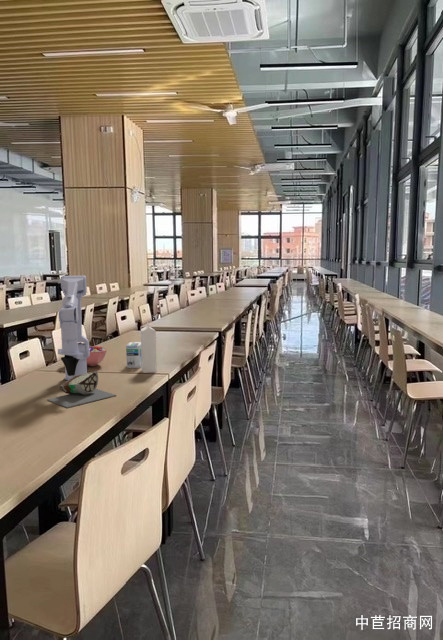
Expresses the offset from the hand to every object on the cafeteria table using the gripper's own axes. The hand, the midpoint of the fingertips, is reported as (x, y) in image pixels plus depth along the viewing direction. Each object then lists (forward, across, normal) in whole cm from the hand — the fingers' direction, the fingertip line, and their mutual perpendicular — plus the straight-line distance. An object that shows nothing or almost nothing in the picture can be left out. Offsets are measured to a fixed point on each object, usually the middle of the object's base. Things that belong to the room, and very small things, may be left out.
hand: (71, 375), depth 184 cm
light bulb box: (+8, -23, +47) cm, 53 cm away
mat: (+8, +7, 0) cm, 10 cm away
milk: (+8, -9, +44) cm, 46 cm away
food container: (+6, -3, +1) cm, 6 cm away
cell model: (+8, -40, +31) cm, 51 cm away
